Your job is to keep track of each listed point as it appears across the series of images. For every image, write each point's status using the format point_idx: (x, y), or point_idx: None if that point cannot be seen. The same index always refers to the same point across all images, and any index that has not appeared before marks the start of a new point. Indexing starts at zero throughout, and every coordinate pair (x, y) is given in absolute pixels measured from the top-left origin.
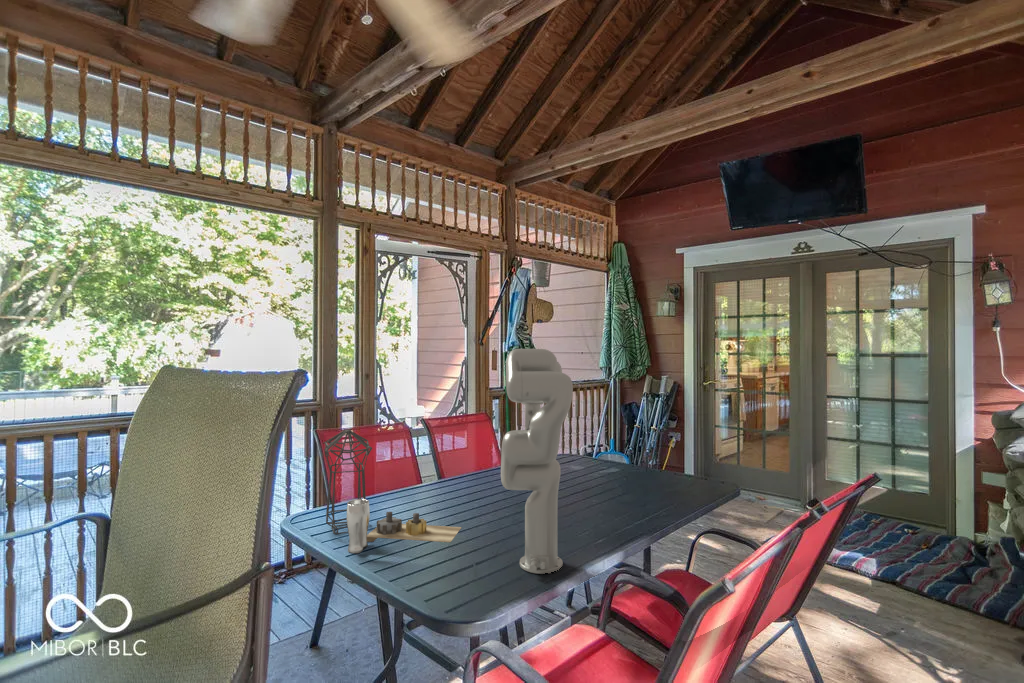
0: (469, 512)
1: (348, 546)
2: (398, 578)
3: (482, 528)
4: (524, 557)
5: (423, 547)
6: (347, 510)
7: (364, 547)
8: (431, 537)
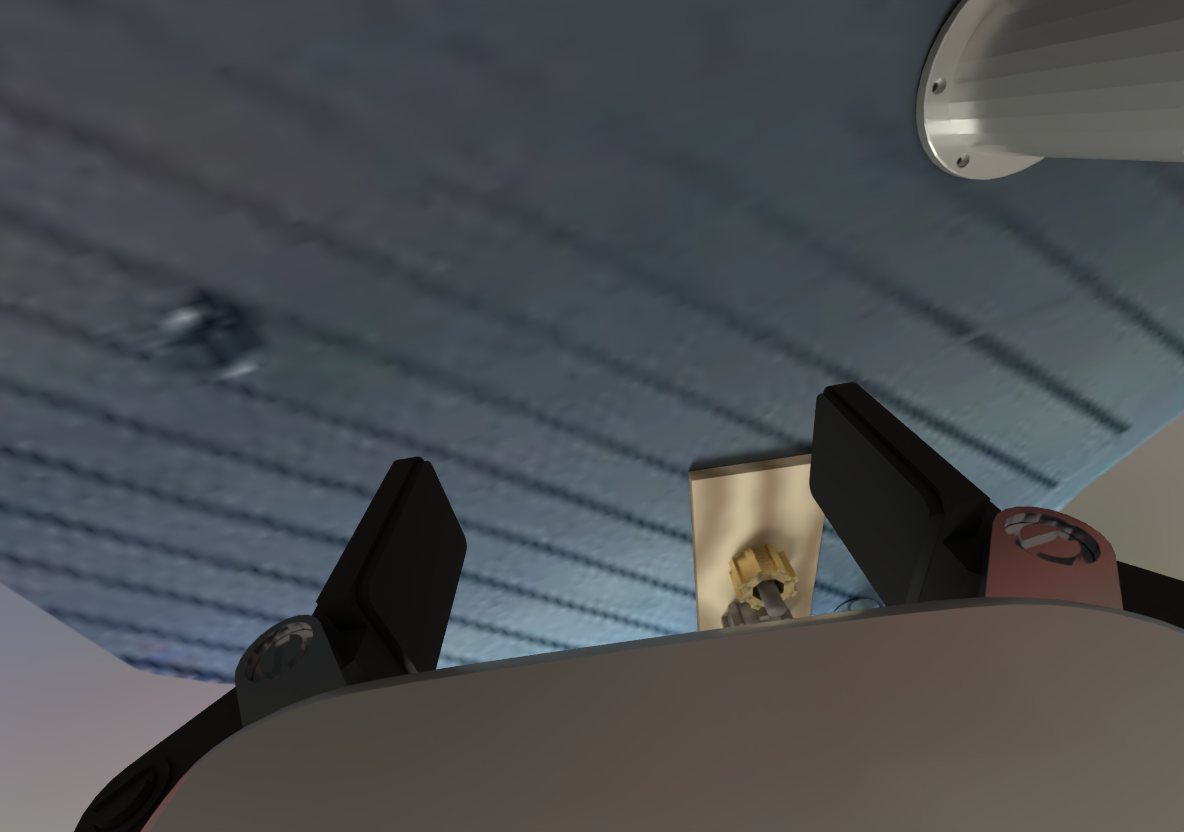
0: (498, 516)
1: None
2: (1041, 477)
3: (640, 426)
4: (975, 165)
5: None
6: None
7: (872, 607)
8: (797, 517)
